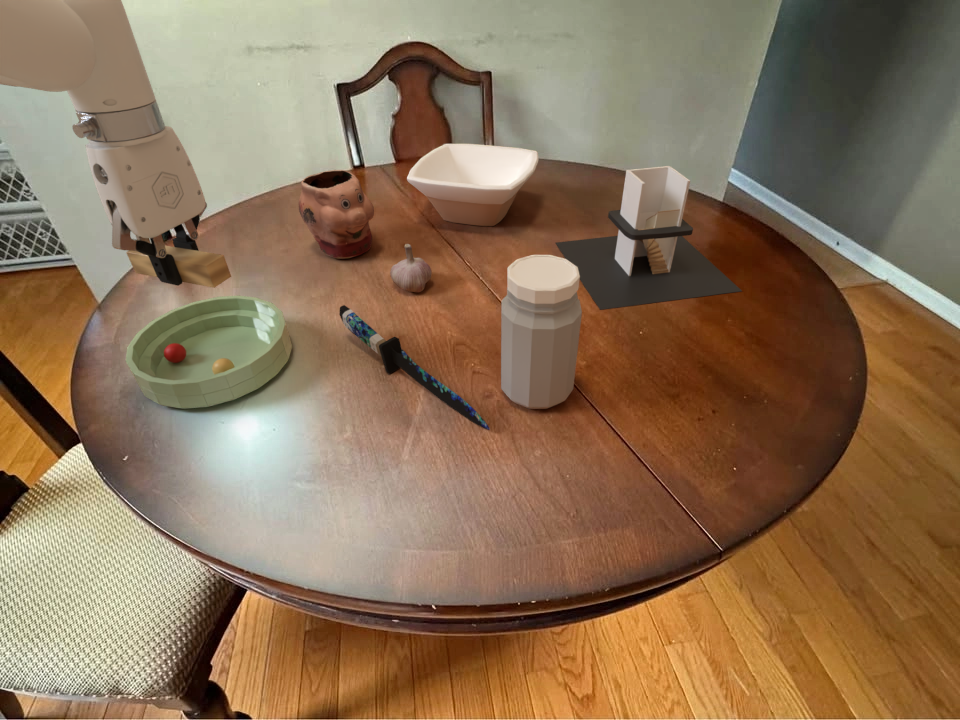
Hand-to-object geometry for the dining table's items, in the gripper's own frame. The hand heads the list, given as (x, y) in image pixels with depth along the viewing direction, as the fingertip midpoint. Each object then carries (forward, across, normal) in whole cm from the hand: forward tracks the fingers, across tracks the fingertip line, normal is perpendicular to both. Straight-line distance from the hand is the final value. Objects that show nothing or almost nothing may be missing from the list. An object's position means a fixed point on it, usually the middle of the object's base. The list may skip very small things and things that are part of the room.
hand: (182, 274), depth 70 cm
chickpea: (+13, -1, -4) cm, 14 cm away
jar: (+15, +11, -44) cm, 48 cm away
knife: (+15, +7, -27) cm, 32 cm away
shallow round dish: (+15, +1, +1) cm, 15 cm away
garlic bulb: (+15, +30, -16) cm, 37 cm away
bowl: (+15, +62, -15) cm, 65 cm away
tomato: (+13, -3, +5) cm, 14 cm away
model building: (+15, +50, -52) cm, 74 cm away
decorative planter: (+15, +38, +4) cm, 41 cm away
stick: (0, 0, 0) cm, 0 cm away
